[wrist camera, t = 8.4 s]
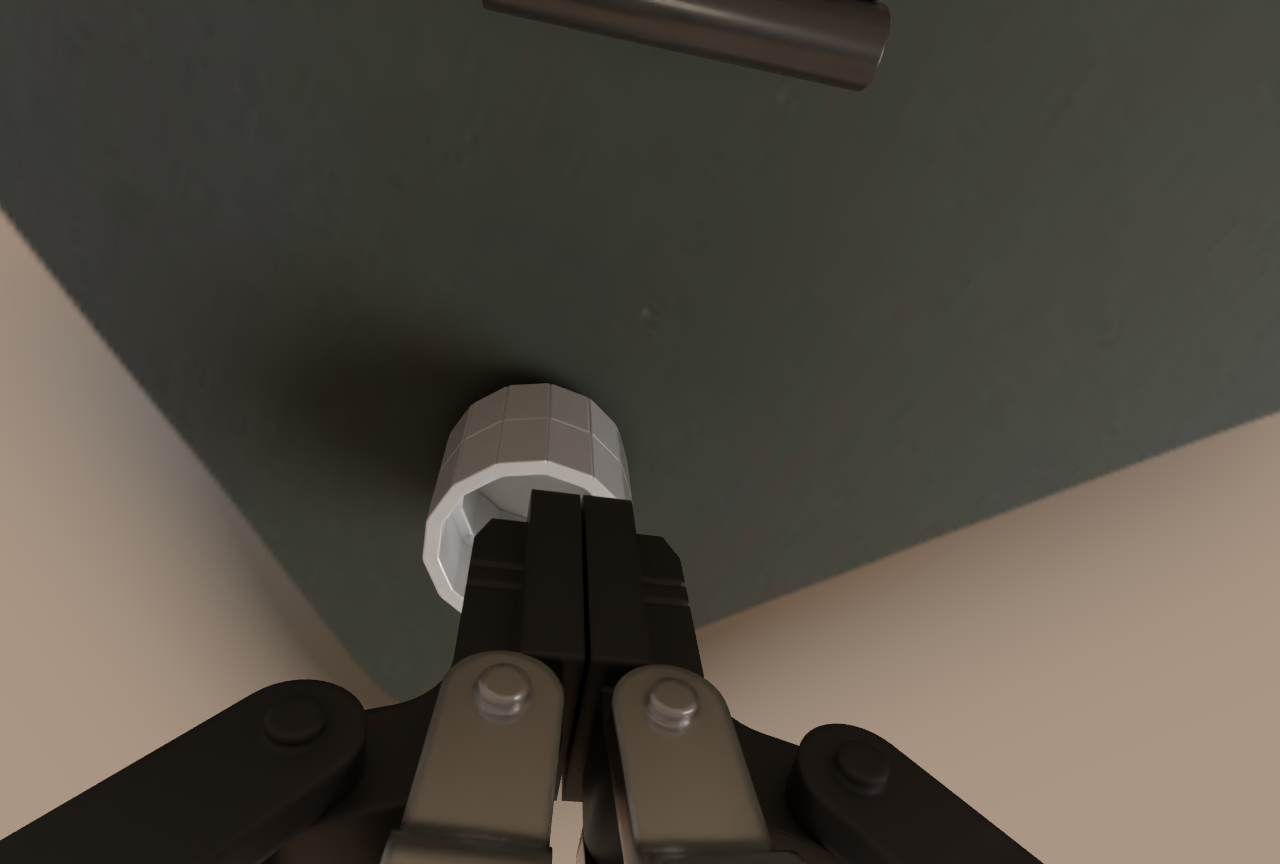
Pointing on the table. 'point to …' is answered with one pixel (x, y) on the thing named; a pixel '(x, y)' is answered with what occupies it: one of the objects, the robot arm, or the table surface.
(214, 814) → the robot arm
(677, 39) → the drawer
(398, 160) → the table surface
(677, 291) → the table surface
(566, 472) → the white faceted cup
